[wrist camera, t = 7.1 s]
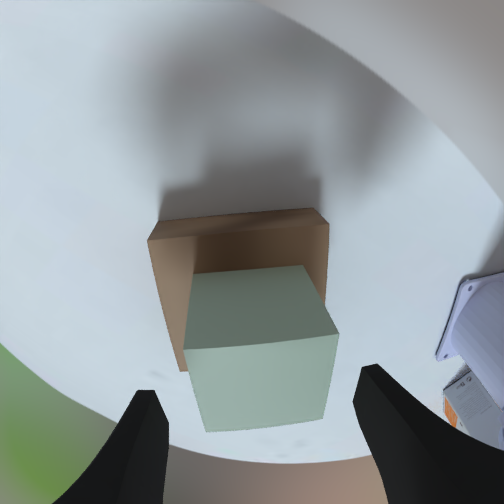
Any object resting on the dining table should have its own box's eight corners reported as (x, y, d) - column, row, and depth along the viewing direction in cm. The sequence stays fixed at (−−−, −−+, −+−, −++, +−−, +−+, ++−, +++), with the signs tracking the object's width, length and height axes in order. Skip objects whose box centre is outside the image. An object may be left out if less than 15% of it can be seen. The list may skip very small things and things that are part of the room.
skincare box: (441, 390, 25) (491, 473, 14) (471, 368, 25) (525, 444, 14) (441, 412, 28) (482, 484, 17) (469, 393, 27) (513, 460, 16)
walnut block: (311, 205, 16) (329, 224, 13) (307, 325, 19) (319, 357, 17) (159, 218, 15) (147, 240, 13) (183, 338, 19) (179, 371, 16)
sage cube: (303, 264, 14) (339, 333, 9) (298, 346, 16) (322, 418, 11) (192, 273, 14) (182, 349, 9) (206, 355, 16) (206, 432, 11)
